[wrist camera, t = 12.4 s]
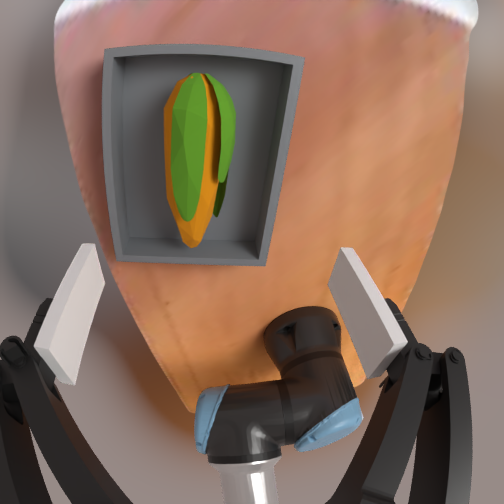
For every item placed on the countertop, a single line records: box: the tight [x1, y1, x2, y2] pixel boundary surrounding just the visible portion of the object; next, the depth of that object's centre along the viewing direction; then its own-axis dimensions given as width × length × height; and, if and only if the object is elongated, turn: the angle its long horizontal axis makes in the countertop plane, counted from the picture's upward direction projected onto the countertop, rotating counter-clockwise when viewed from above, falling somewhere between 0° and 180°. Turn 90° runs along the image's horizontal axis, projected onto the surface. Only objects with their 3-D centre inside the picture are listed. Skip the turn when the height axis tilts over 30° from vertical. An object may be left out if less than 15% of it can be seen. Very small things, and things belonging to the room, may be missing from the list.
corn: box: [164, 73, 236, 248], centre depth 28 cm, size 7×8×20 cm
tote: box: [102, 44, 305, 266], centre depth 29 cm, size 25×19×5 cm
